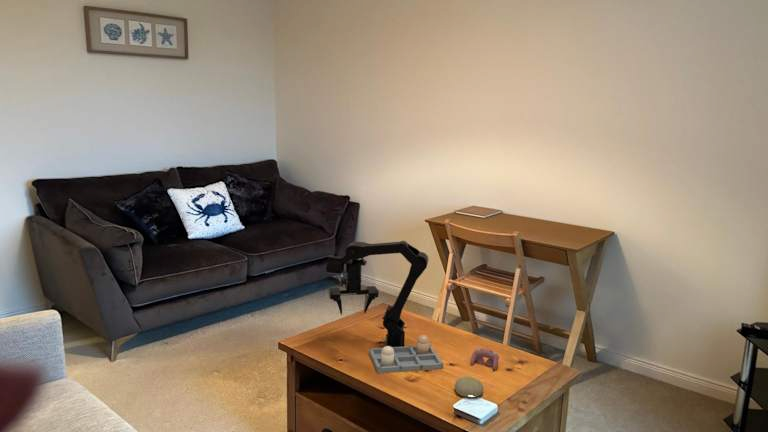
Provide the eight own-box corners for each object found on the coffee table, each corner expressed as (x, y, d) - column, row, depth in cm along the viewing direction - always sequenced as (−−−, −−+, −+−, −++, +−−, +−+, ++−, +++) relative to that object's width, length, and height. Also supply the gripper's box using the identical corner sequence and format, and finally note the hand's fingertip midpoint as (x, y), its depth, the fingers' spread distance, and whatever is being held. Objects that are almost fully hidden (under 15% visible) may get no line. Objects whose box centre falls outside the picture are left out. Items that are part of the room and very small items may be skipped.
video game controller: (497, 371, 215) (501, 352, 216) (495, 371, 211) (498, 351, 212) (471, 365, 218) (474, 346, 220) (468, 365, 214) (472, 346, 216)
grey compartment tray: (430, 350, 227) (430, 344, 226) (443, 369, 211) (443, 363, 211) (369, 354, 222) (369, 348, 221) (377, 374, 206) (378, 368, 206)
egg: (392, 363, 214) (392, 343, 212) (395, 369, 209) (395, 348, 208) (379, 364, 213) (380, 344, 211) (382, 370, 208) (383, 349, 207)
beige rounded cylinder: (426, 351, 224) (427, 332, 223) (430, 357, 220) (431, 337, 218) (414, 352, 223) (415, 333, 222) (418, 357, 219) (419, 338, 217)
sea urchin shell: (478, 397, 189) (463, 376, 191) (461, 408, 193) (447, 387, 195) (489, 386, 197) (475, 366, 198) (473, 396, 201) (459, 376, 202)
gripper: (373, 268, 235) (372, 305, 238) (327, 269, 231) (326, 307, 234) (379, 276, 224) (378, 315, 228) (330, 278, 221) (329, 317, 224)
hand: (353, 313), depth 229 cm, fingers open, 9 cm apart
